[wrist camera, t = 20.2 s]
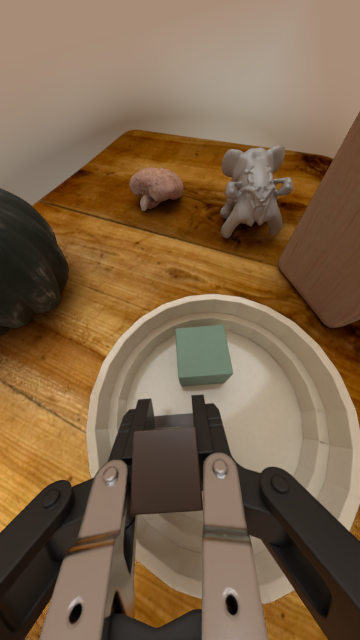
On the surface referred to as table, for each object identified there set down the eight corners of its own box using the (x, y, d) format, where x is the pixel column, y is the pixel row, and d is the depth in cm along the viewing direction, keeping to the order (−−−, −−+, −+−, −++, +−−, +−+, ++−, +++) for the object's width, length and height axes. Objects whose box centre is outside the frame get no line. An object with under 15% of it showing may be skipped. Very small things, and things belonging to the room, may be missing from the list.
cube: (218, 341, 19) (223, 324, 16) (225, 383, 18) (233, 373, 14) (178, 344, 19) (174, 328, 16) (180, 386, 18) (178, 378, 14)
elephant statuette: (228, 253, 25) (241, 192, 19) (197, 201, 31) (198, 139, 24) (291, 235, 26) (327, 170, 19) (250, 188, 32) (266, 124, 25)
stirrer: (203, 413, 16) (213, 402, 8) (209, 475, 14) (233, 545, 6) (153, 416, 16) (114, 409, 8) (153, 479, 14) (101, 553, 6)
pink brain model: (166, 224, 29) (197, 184, 29) (136, 185, 24) (173, 139, 25) (142, 225, 34) (169, 190, 35) (115, 193, 30) (146, 154, 31)
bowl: (278, 313, 21) (301, 285, 17) (354, 534, 13) (437, 593, 9) (121, 327, 21) (102, 303, 17) (104, 551, 13) (60, 617, 9)
